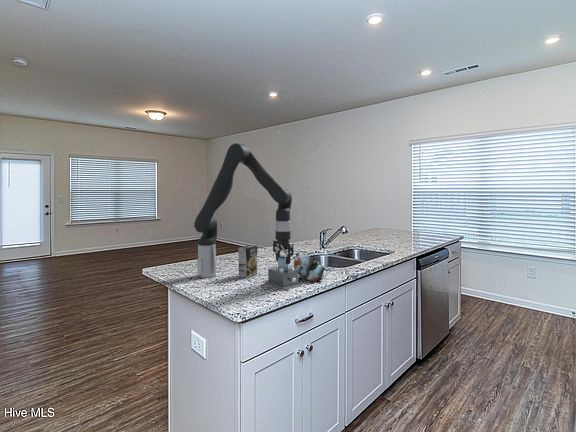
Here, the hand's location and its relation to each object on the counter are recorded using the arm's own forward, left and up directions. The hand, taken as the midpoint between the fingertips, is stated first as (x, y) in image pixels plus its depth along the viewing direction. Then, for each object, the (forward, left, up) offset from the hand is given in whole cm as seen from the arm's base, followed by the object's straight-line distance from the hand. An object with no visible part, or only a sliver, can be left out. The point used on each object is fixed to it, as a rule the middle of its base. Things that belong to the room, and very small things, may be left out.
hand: (282, 262), depth 161 cm
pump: (0, 0, -4) cm, 4 cm away
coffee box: (-6, +24, -11) cm, 27 cm away
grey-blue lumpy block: (+17, -1, -11) cm, 20 cm away
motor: (0, 0, -11) cm, 11 cm away
